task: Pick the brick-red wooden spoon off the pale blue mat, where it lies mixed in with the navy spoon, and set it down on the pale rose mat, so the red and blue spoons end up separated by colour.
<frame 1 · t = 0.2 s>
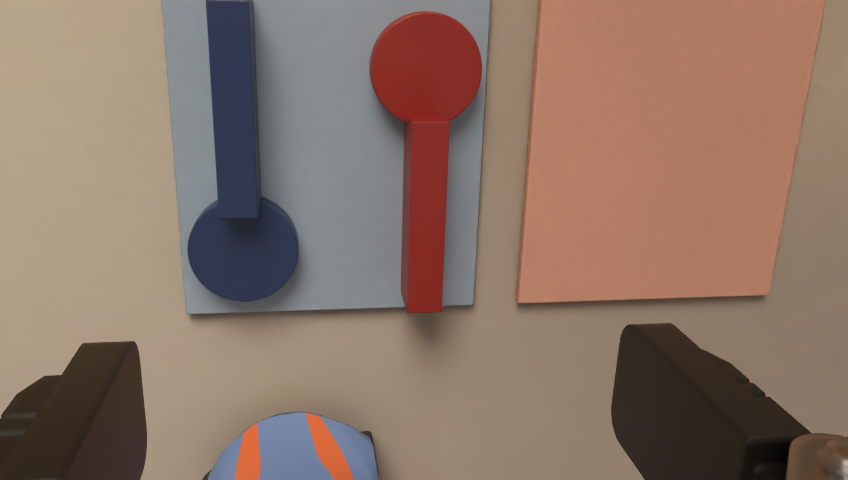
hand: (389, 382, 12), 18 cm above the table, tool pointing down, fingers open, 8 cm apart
blue mat: (332, 155, 29), on the table
blue spoon: (241, 157, 28), resting on blue mat
red spoon: (420, 157, 29), resting on blue mat
red mat: (662, 155, 31), on the table
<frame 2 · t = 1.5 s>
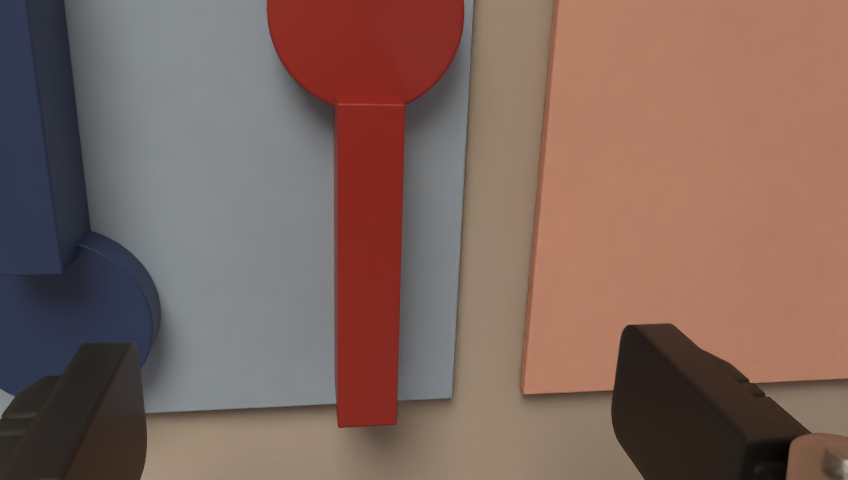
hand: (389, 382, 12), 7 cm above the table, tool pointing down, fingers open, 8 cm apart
blue mat: (214, 161, 17), on the table
blue spoon: (50, 165, 16), resting on blue mat
red spoon: (363, 165, 17), resting on blue mat
red mat: (755, 162, 19), on the table
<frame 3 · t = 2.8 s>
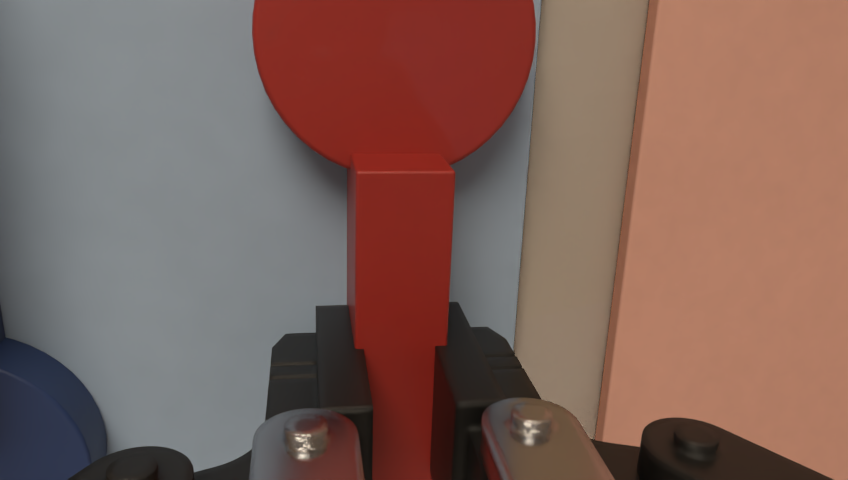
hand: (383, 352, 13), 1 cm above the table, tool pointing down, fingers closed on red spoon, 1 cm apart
blue mat: (178, 239, 12), on the table
red spoon: (387, 243, 13), resting on blue mat, touching gripper
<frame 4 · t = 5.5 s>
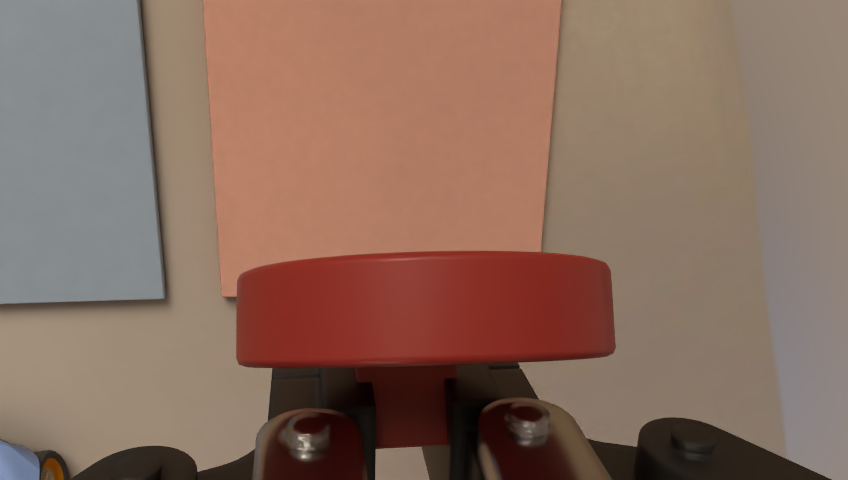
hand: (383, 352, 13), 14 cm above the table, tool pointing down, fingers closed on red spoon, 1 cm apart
red spoon: (391, 293, 12), point 15 cm above the table, tilted 64°, touching gripper
red mat: (386, 118, 26), on the table
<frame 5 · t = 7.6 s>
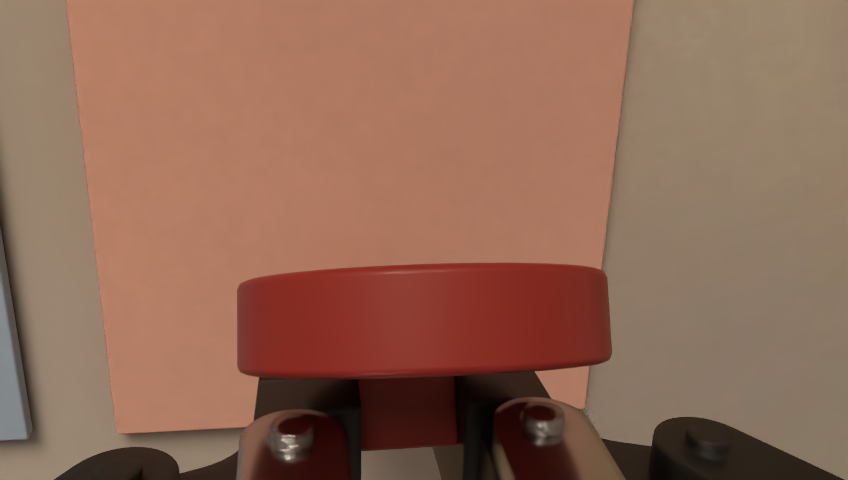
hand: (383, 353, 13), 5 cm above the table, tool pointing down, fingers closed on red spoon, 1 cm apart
red spoon: (390, 294, 12), point 6 cm above the table, tilted 64°, touching gripper, red mat
red mat: (363, 170, 17), on the table
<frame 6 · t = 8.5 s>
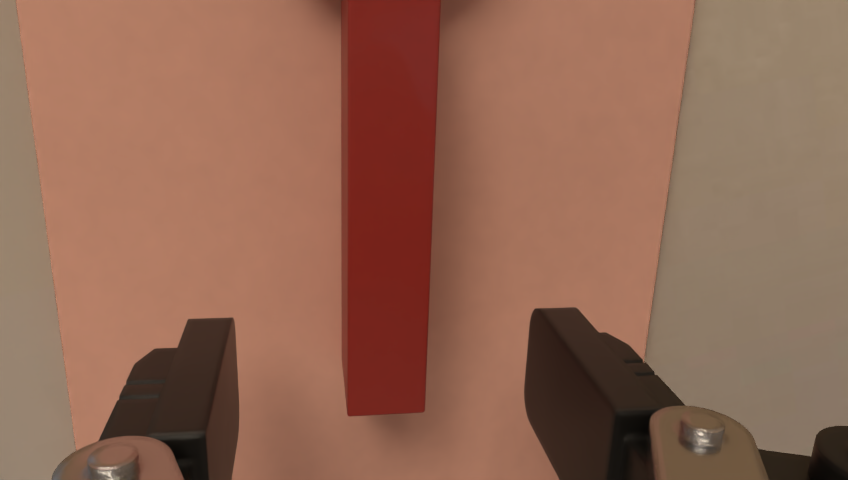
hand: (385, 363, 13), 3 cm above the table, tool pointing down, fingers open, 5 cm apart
red spoon: (379, 71, 13), resting on red mat
red mat: (373, 211, 14), on the table
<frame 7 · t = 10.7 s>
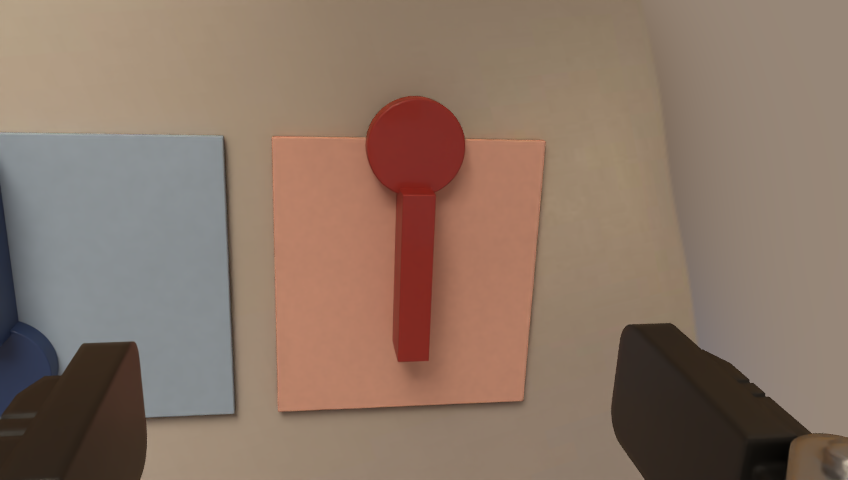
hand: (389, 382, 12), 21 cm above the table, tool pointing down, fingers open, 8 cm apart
blue mat: (87, 282, 32), on the table
red spoon: (411, 222, 33), resting on red mat
red mat: (407, 277, 34), on the table
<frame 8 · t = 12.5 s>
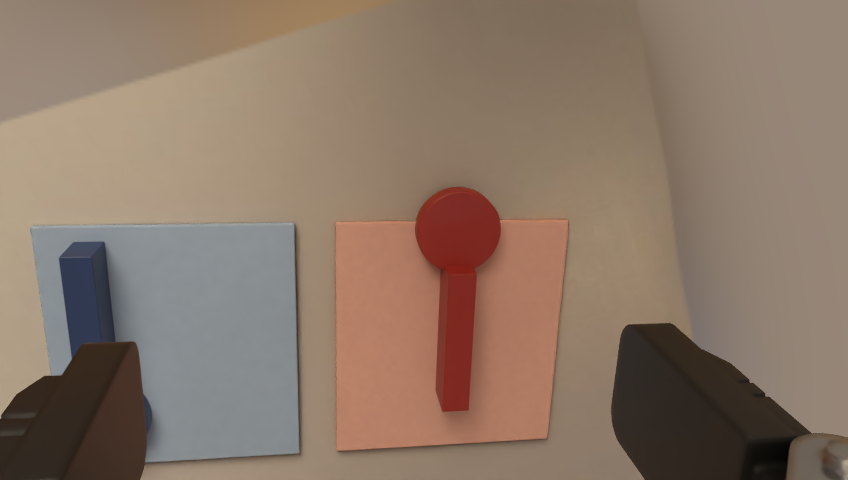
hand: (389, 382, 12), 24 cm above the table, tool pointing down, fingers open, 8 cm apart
blue mat: (176, 346, 37), on the table
blue spoon: (101, 352, 36), resting on blue mat
red spoon: (452, 291, 38), resting on red mat
red mat: (448, 336, 39), on the table
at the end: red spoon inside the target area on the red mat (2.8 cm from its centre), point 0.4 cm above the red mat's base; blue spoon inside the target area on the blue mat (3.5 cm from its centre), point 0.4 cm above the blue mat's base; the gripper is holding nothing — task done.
